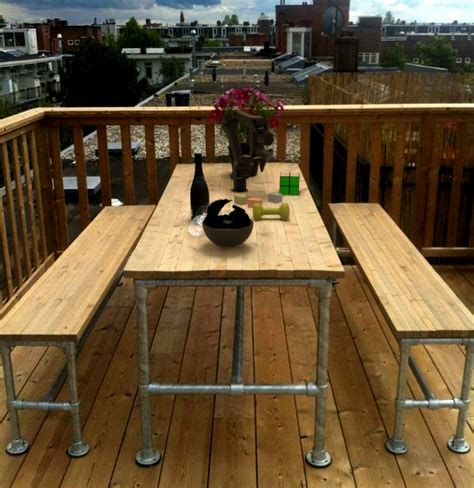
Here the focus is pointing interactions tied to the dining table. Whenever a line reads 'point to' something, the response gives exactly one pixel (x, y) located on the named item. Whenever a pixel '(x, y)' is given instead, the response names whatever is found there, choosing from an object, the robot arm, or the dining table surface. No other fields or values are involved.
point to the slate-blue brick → (274, 197)
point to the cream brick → (254, 193)
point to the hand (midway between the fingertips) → (255, 173)
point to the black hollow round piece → (227, 225)
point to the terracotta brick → (254, 200)
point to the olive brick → (240, 199)
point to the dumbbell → (271, 211)
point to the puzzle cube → (289, 183)
